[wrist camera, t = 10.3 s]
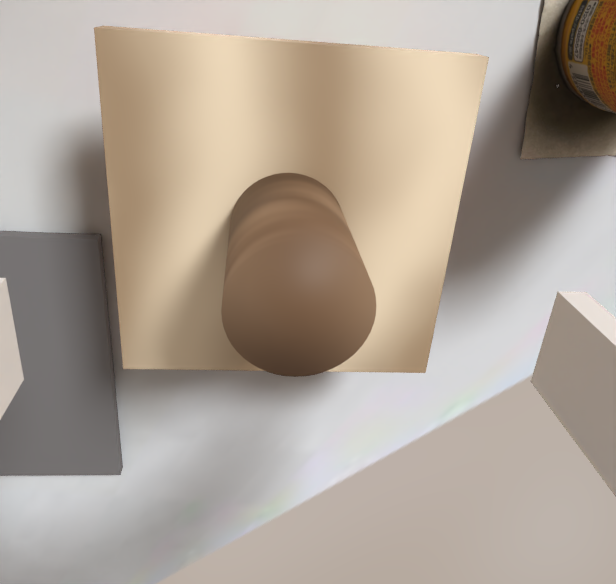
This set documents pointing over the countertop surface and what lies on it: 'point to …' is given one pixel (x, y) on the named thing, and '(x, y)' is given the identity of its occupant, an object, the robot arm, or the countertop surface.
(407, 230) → the lid
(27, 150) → the countertop surface
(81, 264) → the mat
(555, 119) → the condiment
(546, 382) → the robot arm
